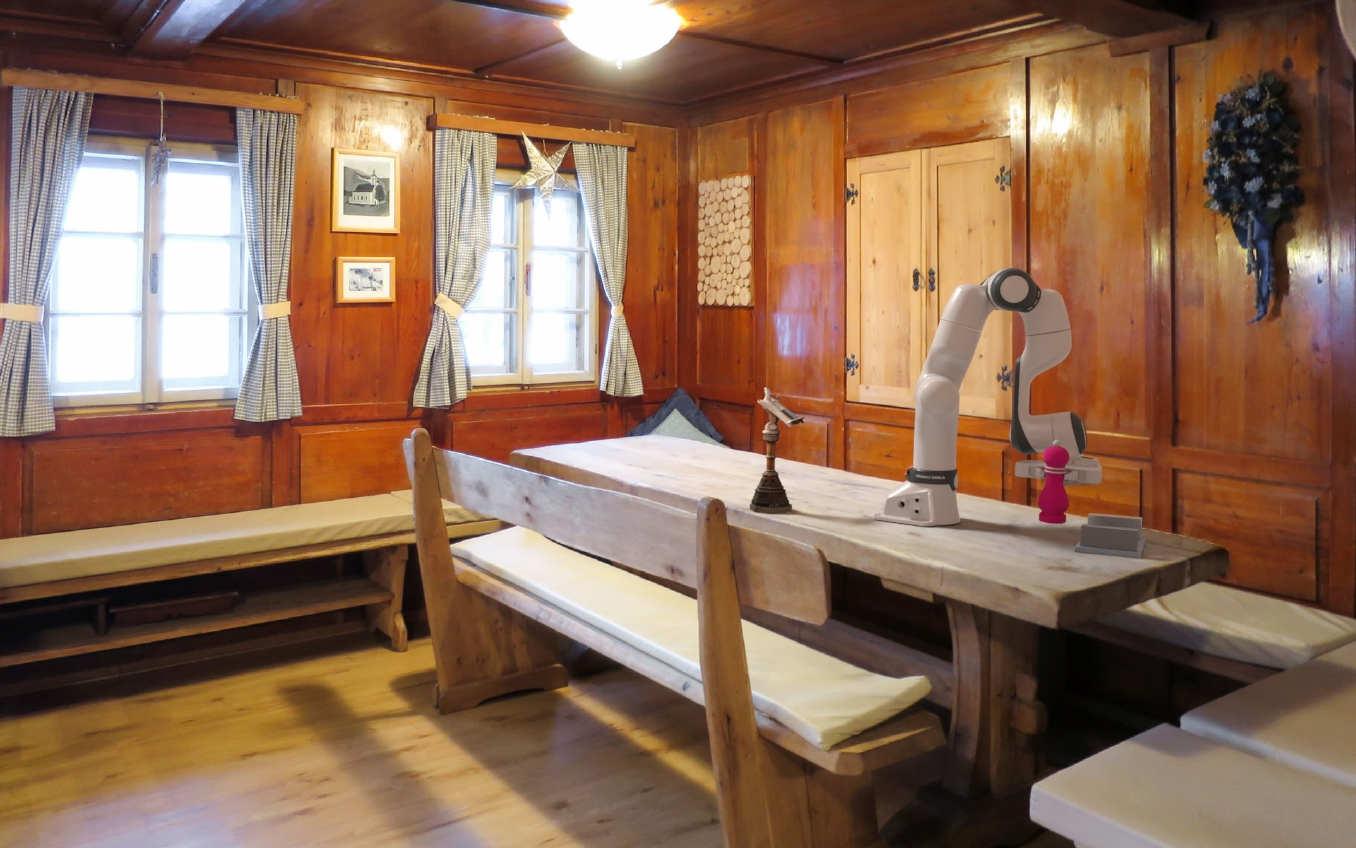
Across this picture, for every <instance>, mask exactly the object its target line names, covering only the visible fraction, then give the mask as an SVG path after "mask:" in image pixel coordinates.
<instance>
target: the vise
mask: <svg viewBox="0 0 1356 848" xmlns="http://www.w3.org/2000/svg"><path fill="white" fill-rule="evenodd" d="M1146 543H1147V536H1144V535H1141V539H1138V529H1133V528H1122V527H1110V526H1099V525H1088V523H1085V524H1084V523H1082V524H1081V526H1080V538H1079V539H1078V541H1077V543H1076V545H1075V546H1074V552H1075V553H1084V554H1093V555H1102V556H1103V555H1105V556H1115V557H1123V558H1124V557H1125V558H1134V559H1135V558H1136V559H1142V557H1143V553H1144V550H1145V546H1146Z"/></svg>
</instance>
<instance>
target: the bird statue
mask: <svg viewBox="0 0 1356 848" xmlns="http://www.w3.org/2000/svg"><path fill="white" fill-rule="evenodd" d="M763 391H764V394H765V395H764V398H763V399H758V400H757V403H758V404H759V405H760V406H761V407H762V409H763V410H764V411H765V412H766V413H767V414H768V418H769V422H767V423H766V424H765V425H764V430H762V432H761V433H762V434H763V438H762V439H763V441H765V442H766V443H765V444H766V455H765V458H766V469H765V471H763V472H762V474H761V475H762V476H761V479H760V480H759V483H758V485H756V488H755V489H754V493H753V496H752V498H751V503H749V510H750V511H752V512H754V513H759V514H767V515H768V514H769V515H770V514H786V513H789V512H791V511H793V504H791V503H790V500H789V499H788V495H787V492H786V491H787V490H786V489H785V486H784V485H783V484H782V482H781V479H780V477H779V476H780V475H779V472H778V471H776V469H775V468H776V463H775V462H776V459H777V455H776V445H777V443H776V442H778V441H779V440H780V434H781V430H779V425H778V422H779V420H780V421H781V422H783V423H784V425H785V426H787V428H789V429H790V428H791V427H792V426H795V425H799V424H800V423H801V424H804V423H805V422H804V419H805V416H804V415H802V416H800V417H799V416H797V415H796V414H795V413H794V412H793V411H790V410H789V408H787V407H786V406H784V405H783V404H782V403H781V402H780V399H781V398H782V397H781V396H780V393H779V392H778V393H777V395H776V396H775V398H776V399H775V398H774V397H772V391H771V389H770V388H768V387H764V388H763Z"/></svg>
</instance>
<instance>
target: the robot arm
mask: <svg viewBox="0 0 1356 848" xmlns="http://www.w3.org/2000/svg"><path fill="white" fill-rule="evenodd" d="M994 311H1002V312H1017V313H1018V314H1019V315H1020V317H1021V319H1022V321H1023V324H1024V333H1025V346H1024V350H1023V352H1022V354H1020V355H1019V356H1017V358H1016V359H1015V365H1014V371H1013V388H1012V408H1011V409H1012V410H1011V423H1010V428H1009V441H1010V444H1011V447H1012V448H1013V449H1014V450H1015V451H1017V452H1018V453H1020V454H1022V455H1024V456H1026V455H1031V454H1037V453H1042V452H1043V453H1044V451H1045V450H1046V449H1047V448H1049V447H1052V446H1054V445H1053V442H1054V441H1055V440H1059V441H1060V442H1061V445H1060V446H1059V447H1063V448H1065V449H1066V450H1067V451H1068V453H1069V462H1068V463H1067V464H1066V465H1065V467H1066V468H1067V469H1066V473H1064V478H1063V482H1064V487H1068V486H1076V485H1087V486H1088V485H1089V486H1090V485H1091V486H1092V485H1093V486H1094V485H1100V484H1102V477H1103V466H1102V465H1101V464H1100V460H1099V459H1098V458H1094V457H1089V456H1084V453H1085V451H1086V449H1087V448H1088V436H1087V430H1086V425H1085V423H1084V420H1083V419H1082V418H1081V417H1080V416H1079V415H1077V414H1076V413H1075V412H1073V411H1064V412H1062V411H1061V412H1055V413H1048V414H1037V415H1031V414H1030V394H1031V393H1030V391H1031V384H1032V382H1033V380H1034V379H1035V378H1037V376H1039V375H1041V374H1042V373H1044V372H1046V371H1048V370H1050V369H1052V368H1055V366H1058V365H1059V364H1060V363H1062V362H1063V361H1064V360H1066V358H1067V357H1068V356H1069V354H1070V352H1071V350H1072V347H1073V346H1072V345H1073V344H1072V342H1073V341H1072V329H1071V324H1070V323H1071V322H1070V319H1069V318H1070V317H1069V314H1068V310H1067V307H1066V304H1065V301H1064V298H1063V296H1062V294H1061V293H1060V292H1059V291H1057V290H1055V289H1051V288H1040V287H1039V285H1038V284H1037V283H1036V281H1035V280H1034V279H1033V277H1031V275H1030V274H1029V273H1027V272H1026V271H1025V270H1023V269H1020V268H1015V267H1005V268H1004V267H1003V268H1001V269H998V270H996V271H994V272H993V273H991V274H990V275H988V276H987V278H986V279H984V280H983V281H982V282H981V283H980V284H975V283H970V282H969V283H968V282H967V283H962V284H959V285H958V286H956V287H955V288H954V290H953V292H952V294H951V295H950V297H949V299H948V301H947V303H946V304H945V308H944V309H943V312H942V314H941V317H940V320H939V323H938V324H937V325H938V326H937V329H936V330H935V331H936V332H935V334H934V336H933V340H932V343H931V346H930V348H929V350H928V354H927V356H926V359H925V361H924V364H923V367H922V369H921V372H920V375H919V377H918V380H917V382H916V385H915V388H914V393H913V394H914V400H915V408H914V409H915V410H914V411H915V413H914V433H913V434H914V435H913V463H912V464H913V465H910V466H909V467H907V469H906V470H905V471H904V476H905V481H903V482H902V483H900V484H899V485H898V486H896V487H895V488H893V489H892V490H891V491H889V492H888V493H887V494H886V496H885V498H884V501H883V504H882V505H883V507H882V509H880V510H877V511H876V512H875V513H874V515H873V517H874V519H875V520H876V521H877V520H878V521H882V522H883V521H884V522H892V523H898V524H906V525H912V526H920V527H933V526H947V525H955V524H959V523H961V517H960V512H959V508H958V506H959V505H958V500H957V489H958V486H959V485H958V483H959V482H958V481H959V480H958V479H959V478H958V477H959V475H958V469H957V445H958V444H957V441H958V440H957V439H958V431H959V429H958V428H959V414H960V413H959V412H960V397H961V396H960V395H961V394H960V389H961V386H962V383H964V382H963V381H964V379H965V377H966V373H968V369H969V367H970V366H971V363H972V361H973V357H974V355H975V352H976V350H977V347H978V343H979V341H980V338H981V336H982V333H983V330H984V327H985V323H986V321H987V319H988V318H989V315H990V314H991V313H992V312H994ZM1045 466H1046V463H1045V462H1044V460H1033V459H1023V460H1021V459H1020V460H1018V461H1016V462H1015V465H1014V476H1016V477H1019V478H1027V479H1028V478H1030V479H1038V480H1046V472H1045V471H1044V470H1045Z"/></svg>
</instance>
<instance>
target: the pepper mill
mask: <svg viewBox="0 0 1356 848" xmlns="http://www.w3.org/2000/svg"><path fill="white" fill-rule="evenodd" d="M1053 445H1054V446H1052V447H1049V448H1047V449H1046V450H1045V451H1043V455H1042V461H1044V462H1045V463H1046V466H1045V470H1044V471H1045V472H1046V479H1045V483H1044V486H1043V488H1042V490H1041V492H1040V494H1039V496H1038V499H1037V506H1038V507H1039V509H1040V512H1039V513H1038V520H1039V522H1041V523H1046V524H1053V525H1061V524H1062V525H1063V524H1065V523H1067V515H1066V514H1065V512H1066V511H1067V510H1068V509H1069V508H1070V500H1069V496H1068V494H1067V492H1066V488H1065V486H1064V482H1063V478H1064V473H1066V469H1067V468H1066V467H1065V465H1066V464H1067V463H1068V462H1069V453H1068V451H1067V450H1066V449H1065V448H1063V447H1059V446H1060V445H1061V442H1060V441H1059V440H1055V441H1054V442H1053Z"/></svg>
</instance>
